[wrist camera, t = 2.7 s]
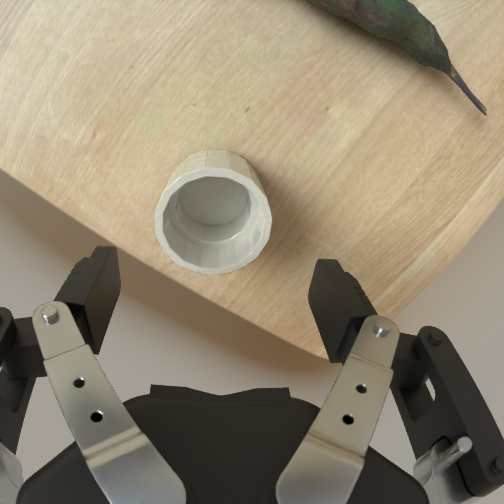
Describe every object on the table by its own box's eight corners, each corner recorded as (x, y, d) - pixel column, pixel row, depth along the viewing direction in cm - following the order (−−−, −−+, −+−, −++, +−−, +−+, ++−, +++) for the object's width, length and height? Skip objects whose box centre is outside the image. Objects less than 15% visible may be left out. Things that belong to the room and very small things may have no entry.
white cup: (167, 230, 22) (156, 271, 17) (170, 145, 19) (154, 165, 14) (253, 235, 22) (262, 277, 18) (265, 152, 19) (280, 173, 15)
